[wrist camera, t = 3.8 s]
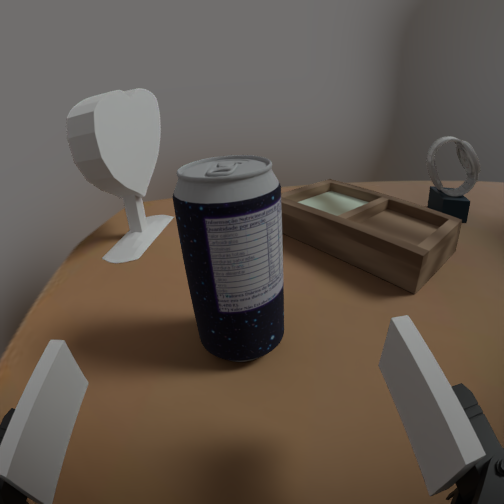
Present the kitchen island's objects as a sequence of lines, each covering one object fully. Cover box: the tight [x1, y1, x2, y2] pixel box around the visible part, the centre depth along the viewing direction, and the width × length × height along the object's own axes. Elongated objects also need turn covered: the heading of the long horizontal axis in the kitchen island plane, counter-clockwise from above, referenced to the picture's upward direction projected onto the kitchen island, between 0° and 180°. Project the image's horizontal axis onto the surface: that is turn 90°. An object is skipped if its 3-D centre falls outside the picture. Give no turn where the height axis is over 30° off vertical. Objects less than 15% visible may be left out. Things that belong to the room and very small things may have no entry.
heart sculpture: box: [66, 88, 174, 263], centre depth 34 cm, size 16×5×18 cm, turn 173°
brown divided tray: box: [281, 179, 462, 294], centre depth 33 cm, size 11×19×4 cm, turn 38°
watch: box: [426, 136, 481, 223], centre depth 36 cm, size 6×8×11 cm
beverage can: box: [173, 155, 284, 362], centre depth 19 cm, size 6×6×12 cm
